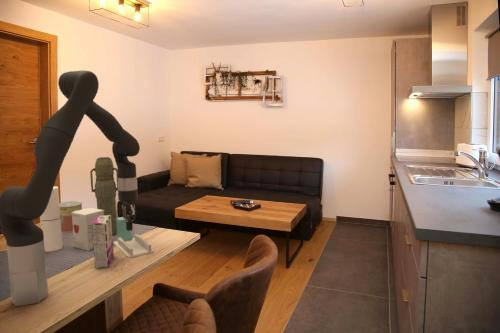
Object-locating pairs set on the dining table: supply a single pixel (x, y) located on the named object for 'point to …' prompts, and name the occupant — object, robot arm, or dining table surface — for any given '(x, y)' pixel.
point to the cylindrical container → (52, 223)
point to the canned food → (68, 214)
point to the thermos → (105, 188)
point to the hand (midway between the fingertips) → (129, 230)
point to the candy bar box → (102, 241)
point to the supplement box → (84, 227)
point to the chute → (133, 246)
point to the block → (123, 229)
